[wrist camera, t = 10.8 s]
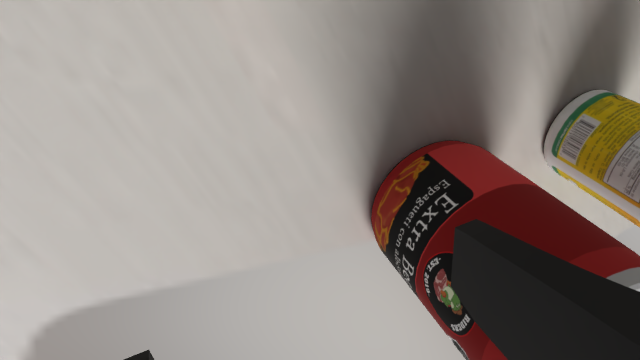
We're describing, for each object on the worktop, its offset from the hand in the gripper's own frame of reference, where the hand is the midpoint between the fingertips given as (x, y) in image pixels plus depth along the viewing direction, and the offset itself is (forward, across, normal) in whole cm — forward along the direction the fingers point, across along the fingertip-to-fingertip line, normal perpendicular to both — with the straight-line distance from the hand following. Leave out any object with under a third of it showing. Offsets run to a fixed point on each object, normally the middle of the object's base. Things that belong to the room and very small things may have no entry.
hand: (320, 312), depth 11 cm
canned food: (+11, -10, +8) cm, 17 cm away
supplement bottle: (+11, -20, +7) cm, 24 cm away
